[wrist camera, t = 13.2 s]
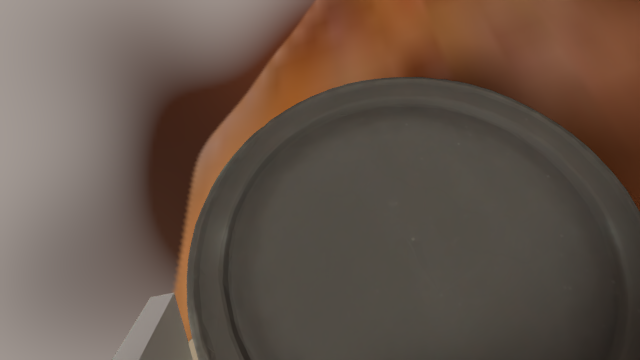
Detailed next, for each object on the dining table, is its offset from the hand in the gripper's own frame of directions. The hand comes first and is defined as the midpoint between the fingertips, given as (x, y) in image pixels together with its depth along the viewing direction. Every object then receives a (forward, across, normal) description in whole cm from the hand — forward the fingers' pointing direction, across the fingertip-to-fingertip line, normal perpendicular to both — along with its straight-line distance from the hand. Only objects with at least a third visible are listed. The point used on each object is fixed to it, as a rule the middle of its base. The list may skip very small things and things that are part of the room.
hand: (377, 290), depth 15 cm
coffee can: (+6, 0, -7) cm, 9 cm away
